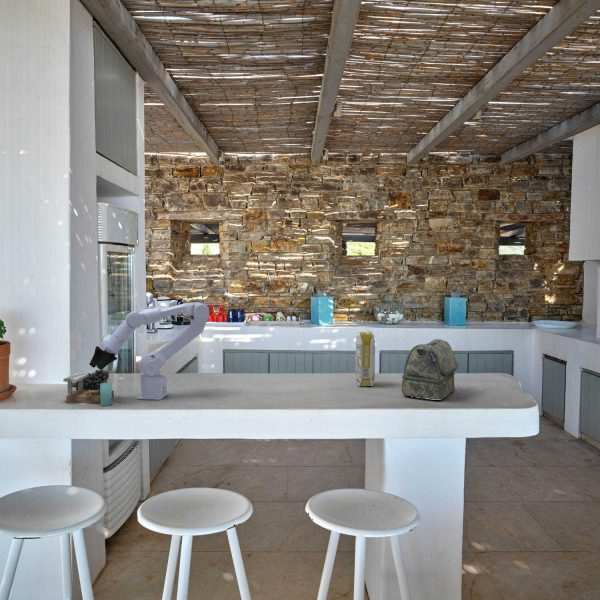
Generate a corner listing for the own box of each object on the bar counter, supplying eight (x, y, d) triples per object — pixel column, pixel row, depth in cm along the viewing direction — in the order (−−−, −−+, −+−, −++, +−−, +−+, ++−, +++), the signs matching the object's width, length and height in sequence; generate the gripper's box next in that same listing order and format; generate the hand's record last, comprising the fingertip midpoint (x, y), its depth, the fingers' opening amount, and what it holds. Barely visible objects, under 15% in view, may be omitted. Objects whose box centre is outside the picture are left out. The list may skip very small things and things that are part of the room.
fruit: (69, 370, 222) (109, 368, 226) (72, 373, 230) (110, 370, 234) (69, 392, 220) (109, 389, 224) (72, 394, 228) (111, 391, 232)
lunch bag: (442, 404, 211) (443, 347, 209) (396, 397, 220) (397, 343, 219) (460, 390, 233) (461, 339, 232) (418, 385, 242) (419, 336, 241)
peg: (113, 403, 207) (113, 382, 206) (109, 406, 203) (108, 384, 202) (103, 403, 207) (103, 382, 207) (98, 406, 203) (98, 384, 203)
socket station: (115, 397, 216) (115, 374, 216) (103, 403, 206) (103, 380, 206) (76, 396, 218) (76, 373, 217) (63, 402, 208) (63, 378, 207)
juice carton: (375, 387, 237) (376, 332, 236) (356, 387, 237) (357, 331, 236) (372, 383, 247) (373, 329, 245) (354, 382, 247) (355, 329, 245)
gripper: (116, 335, 219) (94, 363, 216) (104, 329, 204) (79, 358, 202) (130, 346, 218) (107, 374, 215) (118, 340, 203) (94, 370, 201)
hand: (95, 367), depth 208 cm, fingers open, 7 cm apart
